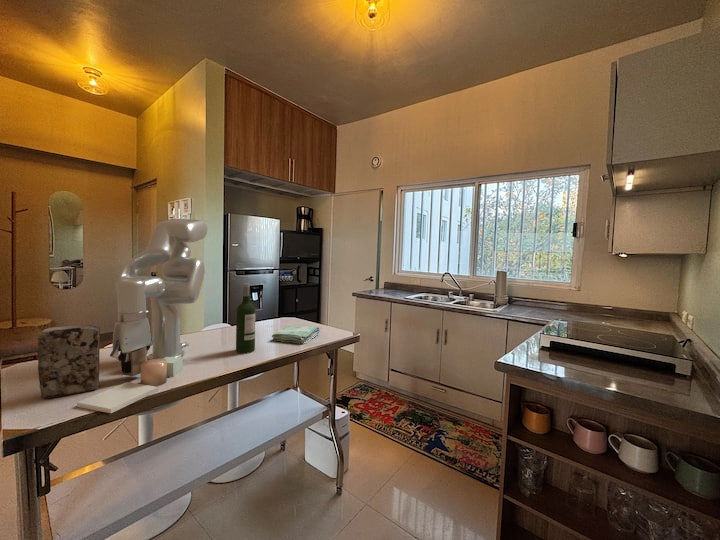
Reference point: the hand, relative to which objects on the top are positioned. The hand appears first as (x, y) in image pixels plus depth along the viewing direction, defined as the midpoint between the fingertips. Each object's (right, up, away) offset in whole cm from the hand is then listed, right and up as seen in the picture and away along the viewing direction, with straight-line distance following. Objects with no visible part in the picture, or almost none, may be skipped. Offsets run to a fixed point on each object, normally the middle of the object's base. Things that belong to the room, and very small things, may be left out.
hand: (134, 368), depth 101 cm
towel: (+43, -3, +56) cm, 70 cm away
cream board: (+6, -4, -14) cm, 16 cm away
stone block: (-11, -4, -11) cm, 16 cm away
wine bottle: (+25, -3, +32) cm, 41 cm away
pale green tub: (+9, -4, +5) cm, 11 cm away
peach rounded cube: (+9, -4, -3) cm, 10 cm away
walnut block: (0, -1, 0) cm, 1 cm away
